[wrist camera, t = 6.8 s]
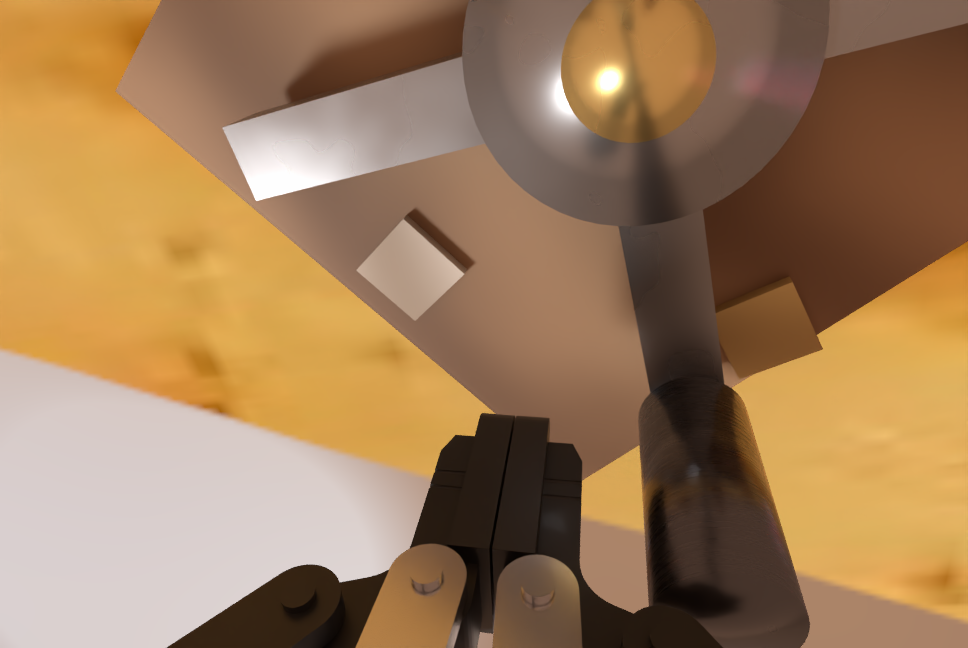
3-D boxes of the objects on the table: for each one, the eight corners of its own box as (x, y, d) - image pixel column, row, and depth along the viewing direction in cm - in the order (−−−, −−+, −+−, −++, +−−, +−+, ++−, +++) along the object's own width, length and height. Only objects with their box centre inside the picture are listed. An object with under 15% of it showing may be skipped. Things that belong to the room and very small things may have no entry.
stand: (734, -1013, 8) (775, -1329, 6) (1288, -19, 12) (1422, -14, 10) (156, 68, 17) (95, 83, 15) (585, 443, 20) (582, 494, 18)
